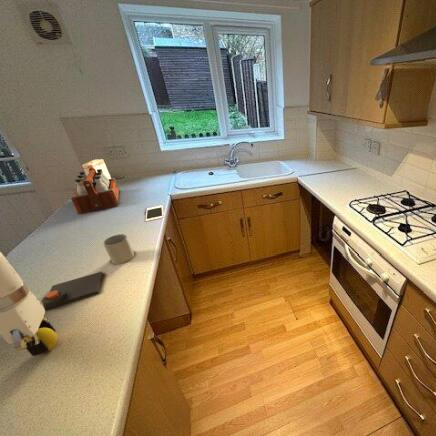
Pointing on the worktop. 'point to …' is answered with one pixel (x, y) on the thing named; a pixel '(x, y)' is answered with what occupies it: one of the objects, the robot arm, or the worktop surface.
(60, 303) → the scale
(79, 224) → the worktop surface
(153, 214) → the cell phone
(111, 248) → the cup
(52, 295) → the tare button
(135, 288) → the worktop surface
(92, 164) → the coffeecake box
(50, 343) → the lemon
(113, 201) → the milk bottle holder
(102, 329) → the worktop surface
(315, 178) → the worktop surface
